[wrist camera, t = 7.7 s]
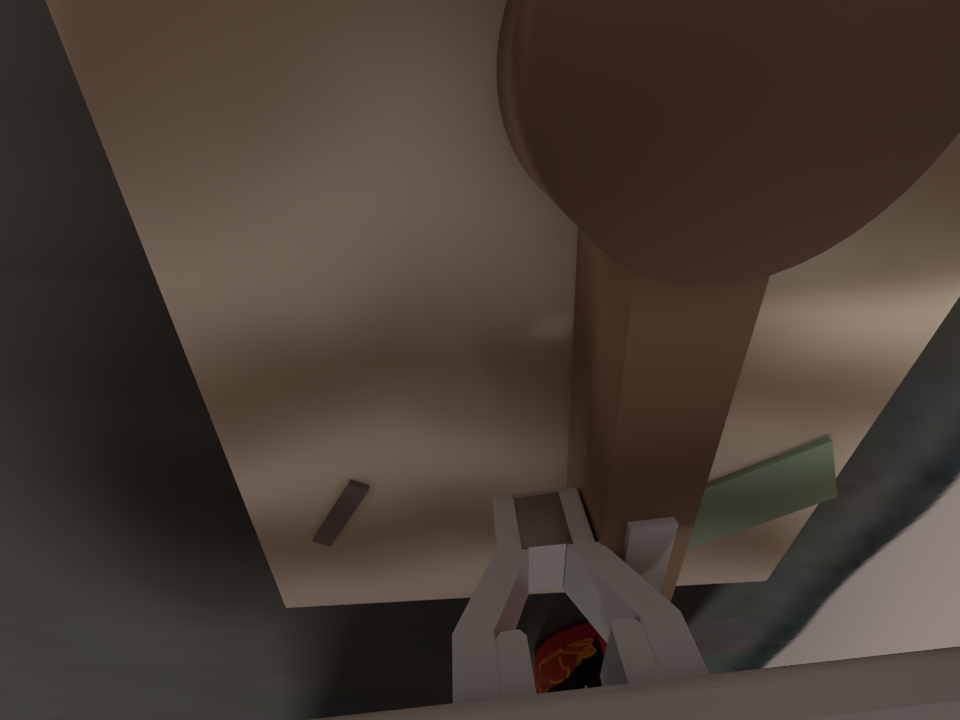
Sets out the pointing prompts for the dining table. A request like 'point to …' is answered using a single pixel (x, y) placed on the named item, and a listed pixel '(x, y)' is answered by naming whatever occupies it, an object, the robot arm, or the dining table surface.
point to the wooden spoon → (704, 204)
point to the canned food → (570, 660)
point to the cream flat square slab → (441, 291)
